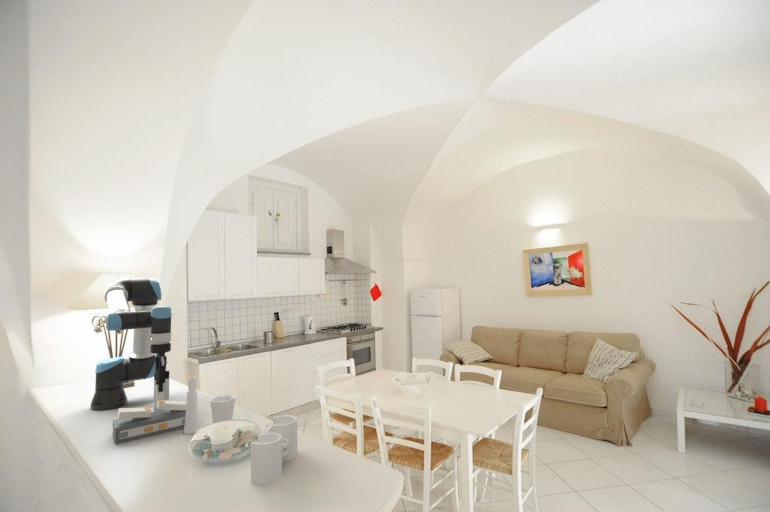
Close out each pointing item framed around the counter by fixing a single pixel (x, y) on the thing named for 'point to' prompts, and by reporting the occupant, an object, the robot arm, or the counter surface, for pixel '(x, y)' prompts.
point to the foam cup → (222, 408)
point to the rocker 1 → (134, 412)
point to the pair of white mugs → (273, 450)
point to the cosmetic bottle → (191, 408)
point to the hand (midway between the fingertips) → (159, 399)
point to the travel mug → (166, 390)
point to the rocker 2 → (171, 405)
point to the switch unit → (148, 425)
